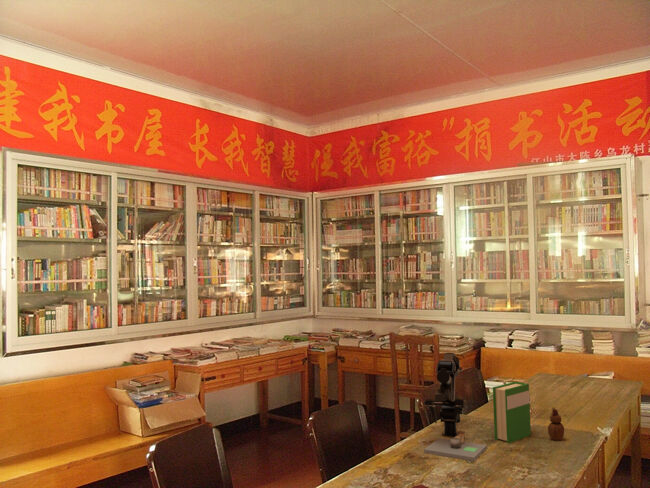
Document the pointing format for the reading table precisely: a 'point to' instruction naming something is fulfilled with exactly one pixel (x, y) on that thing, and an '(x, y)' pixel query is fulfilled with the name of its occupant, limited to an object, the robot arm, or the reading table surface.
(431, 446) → the dial plate
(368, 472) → the reading table surface
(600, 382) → the reading table surface
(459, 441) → the lever
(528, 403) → the hardback book
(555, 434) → the wooden figurine
